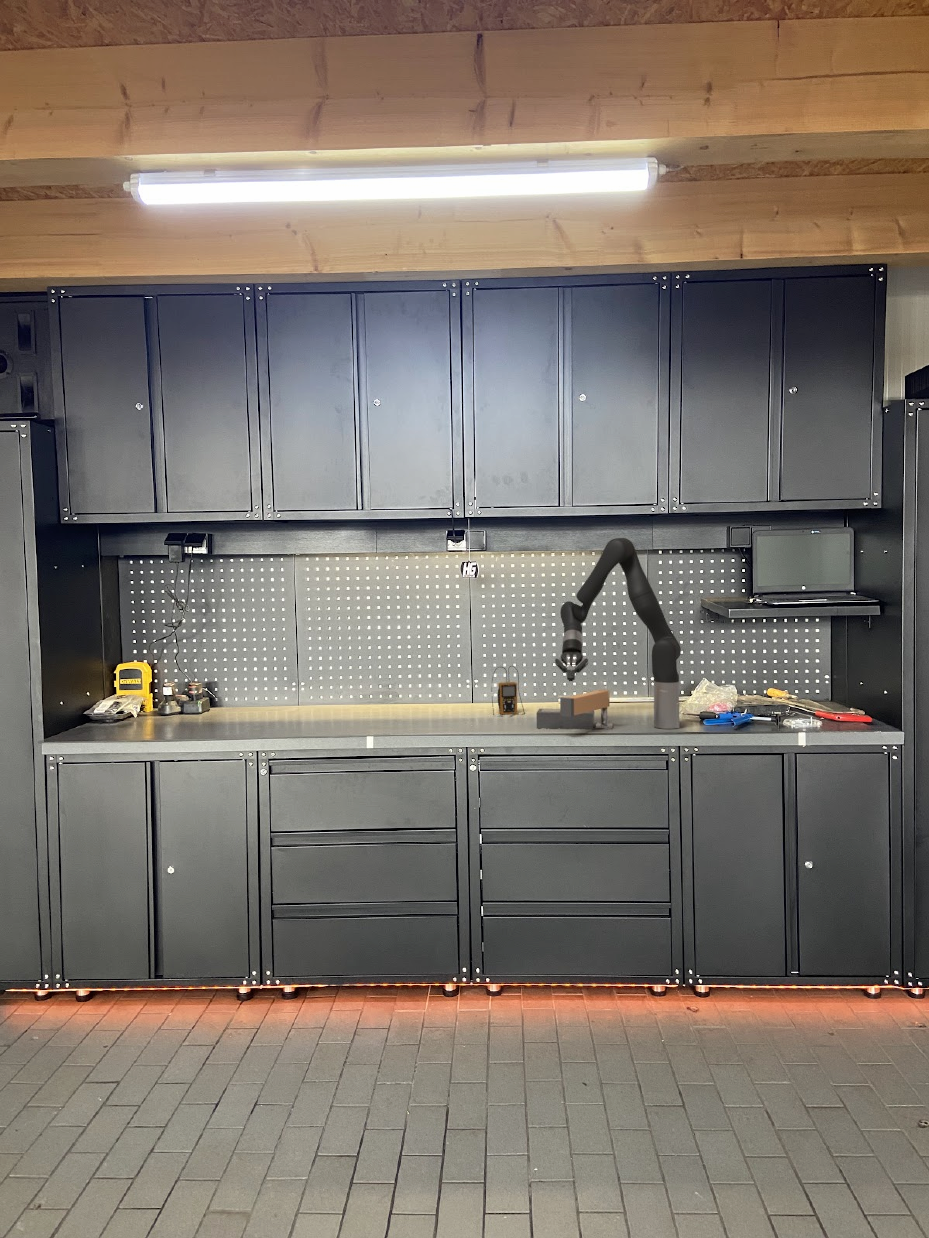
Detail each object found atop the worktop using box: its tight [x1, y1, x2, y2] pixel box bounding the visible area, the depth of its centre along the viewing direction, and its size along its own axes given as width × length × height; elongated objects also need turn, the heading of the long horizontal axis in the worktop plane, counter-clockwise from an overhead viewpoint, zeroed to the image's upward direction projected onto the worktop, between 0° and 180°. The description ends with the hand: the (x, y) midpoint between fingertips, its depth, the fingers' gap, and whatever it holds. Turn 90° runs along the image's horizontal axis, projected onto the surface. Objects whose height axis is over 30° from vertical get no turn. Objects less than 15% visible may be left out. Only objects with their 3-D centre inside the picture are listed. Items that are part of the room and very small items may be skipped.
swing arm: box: [559, 689, 611, 717], centre depth 336 cm, size 29×4×6 cm, turn 141°
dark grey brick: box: [536, 708, 595, 730], centre depth 349 cm, size 21×10×6 cm, turn 79°
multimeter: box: [490, 665, 526, 717], centre depth 377 cm, size 15×10×20 cm
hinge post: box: [595, 707, 614, 730], centre depth 346 cm, size 6×6×8 cm
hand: (570, 679), depth 341 cm, fingers closed
